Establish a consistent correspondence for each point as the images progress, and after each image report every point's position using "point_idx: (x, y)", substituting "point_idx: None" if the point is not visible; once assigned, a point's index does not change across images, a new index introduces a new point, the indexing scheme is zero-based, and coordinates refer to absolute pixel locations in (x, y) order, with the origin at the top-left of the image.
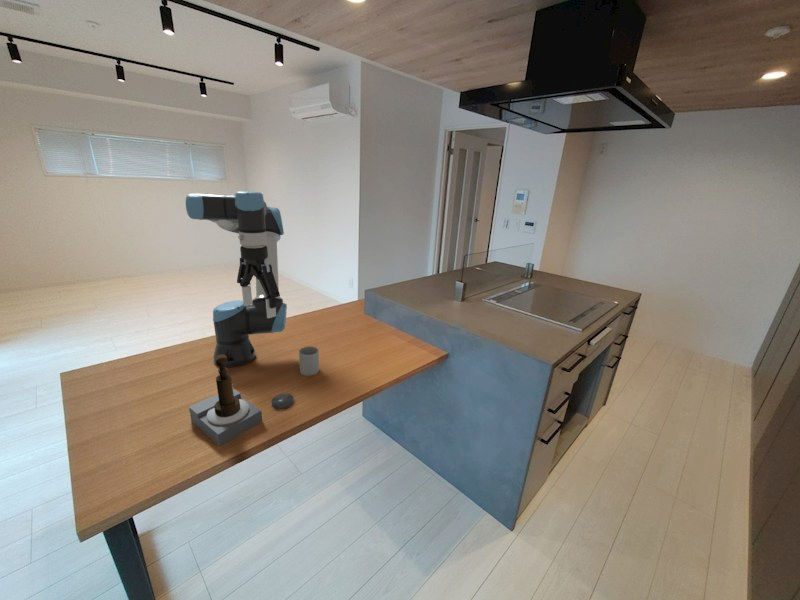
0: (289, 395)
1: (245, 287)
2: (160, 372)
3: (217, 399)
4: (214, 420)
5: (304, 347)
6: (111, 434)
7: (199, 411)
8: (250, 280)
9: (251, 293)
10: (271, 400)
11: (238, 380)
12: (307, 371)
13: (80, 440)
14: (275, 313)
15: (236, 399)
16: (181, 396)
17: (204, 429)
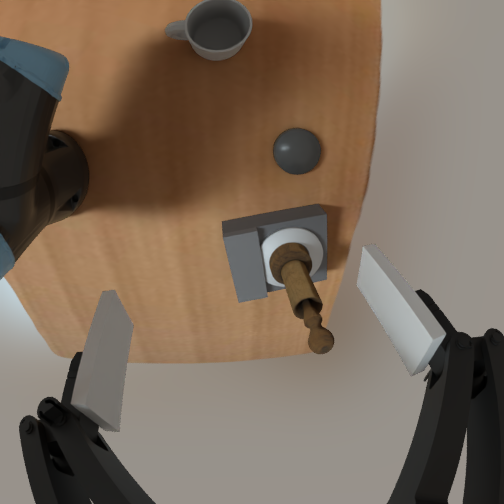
0: (294, 133)
1: (111, 422)
2: (64, 291)
3: (248, 267)
4: None
5: (186, 24)
6: (201, 344)
7: (263, 294)
8: (101, 462)
9: (97, 350)
10: (284, 170)
11: (149, 192)
12: (237, 51)
13: (194, 360)
14: (382, 256)
15: (300, 257)
16: (153, 282)
17: None
